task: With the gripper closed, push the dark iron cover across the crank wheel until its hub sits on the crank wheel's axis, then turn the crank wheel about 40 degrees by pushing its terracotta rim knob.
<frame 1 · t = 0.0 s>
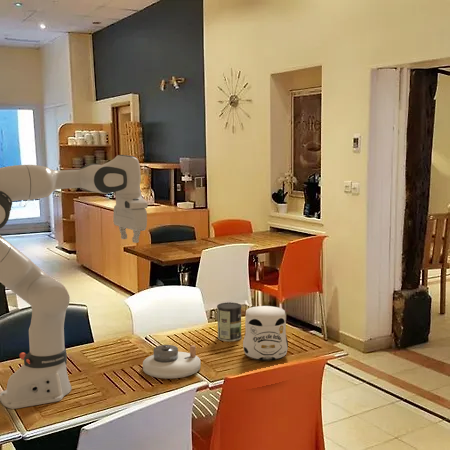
hand: (129, 240, 203), 48 cm above the table, tool pointing down, fingers open, 8 cm apart
crank wheel: (171, 359, 210), point 4 cm above the table, hinge at 0.0°, touching iron cover
milk container: (265, 356, 223), on the table
iron cover: (165, 358, 214), point 3 cm above the table, touching crank wheel
coffee can: (229, 338, 245), on the table
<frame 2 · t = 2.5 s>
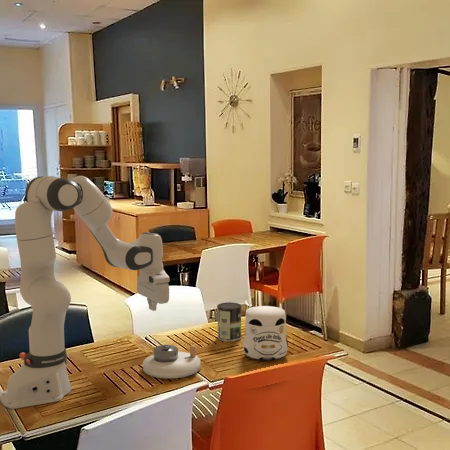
hand: (152, 309, 220), 19 cm above the table, tool pointing down, fingers closed
nothing on the table moved.
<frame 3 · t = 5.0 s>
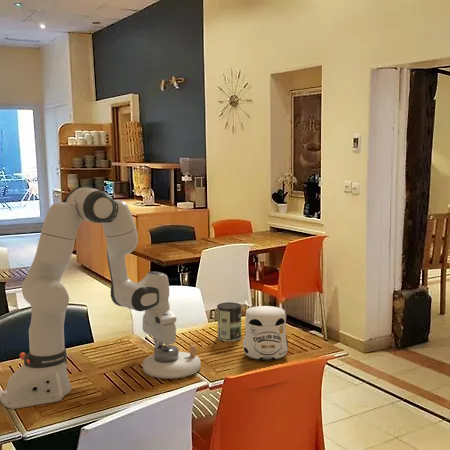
hand: (158, 349, 218), 5 cm above the table, tool pointing down, fingers closed
crank wheel: (171, 359, 210), point 4 cm above the table, hinge at 0.0°
iron cover: (166, 358, 214), point 3 cm above the table, touching gripper
everything else where it was.
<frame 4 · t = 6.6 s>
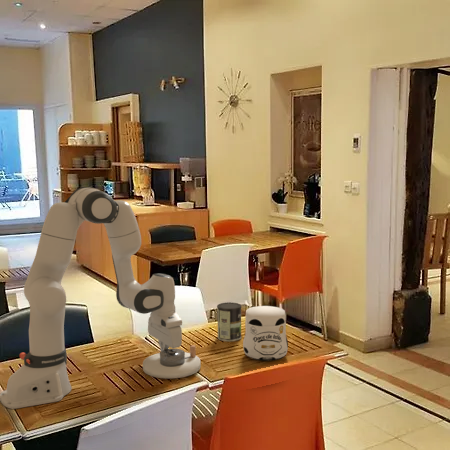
hand: (164, 352, 215), 5 cm above the table, tool pointing down, fingers closed
crank wheel: (171, 359, 210), point 4 cm above the table, hinge at 0.0°, touching iron cover
iron cover: (172, 362, 210), point 3 cm above the table, touching crank wheel
everything else where it was.
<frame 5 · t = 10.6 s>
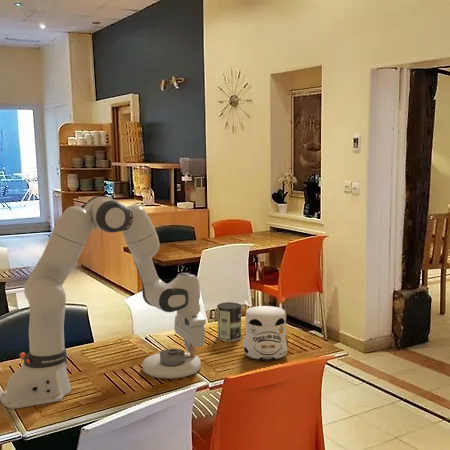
hand: (188, 350, 218), 4 cm above the table, tool pointing down, fingers closed
crank wheel: (171, 359, 210), point 4 cm above the table, hinge at 0.0°, touching gripper, iron cover
everything else where it was.
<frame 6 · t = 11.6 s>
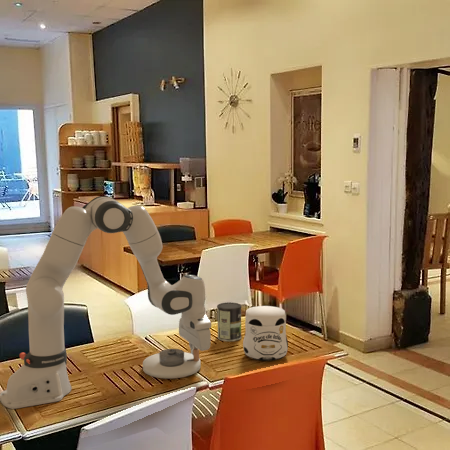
hand: (194, 354, 214), 4 cm above the table, tool pointing down, fingers closed
crank wheel: (171, 359, 210), point 4 cm above the table, hinge at -25.8°, touching gripper, iron cover
everything else where it was.
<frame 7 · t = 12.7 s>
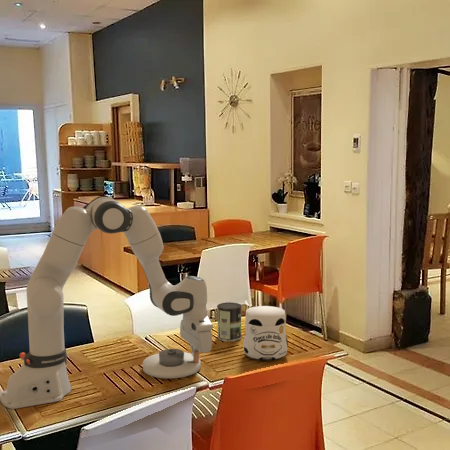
hand: (194, 356, 212), 4 cm above the table, tool pointing down, fingers closed
crank wheel: (171, 359, 210), point 4 cm above the table, hinge at -38.3°, touching gripper, iron cover
everything else where it was.
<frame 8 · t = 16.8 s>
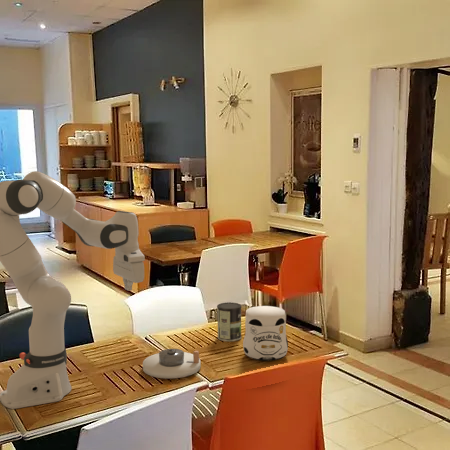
hand: (128, 289, 218), 27 cm above the table, tool pointing down, fingers closed
crank wheel: (171, 359, 210), point 4 cm above the table, hinge at -38.4°, touching iron cover
everything else where it was.
at the end: iron cover 0.5 cm from the crank wheel (horizontally); crank wheel at -38° (first picture: +0°); iron cover point 2.8 cm above the table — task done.
